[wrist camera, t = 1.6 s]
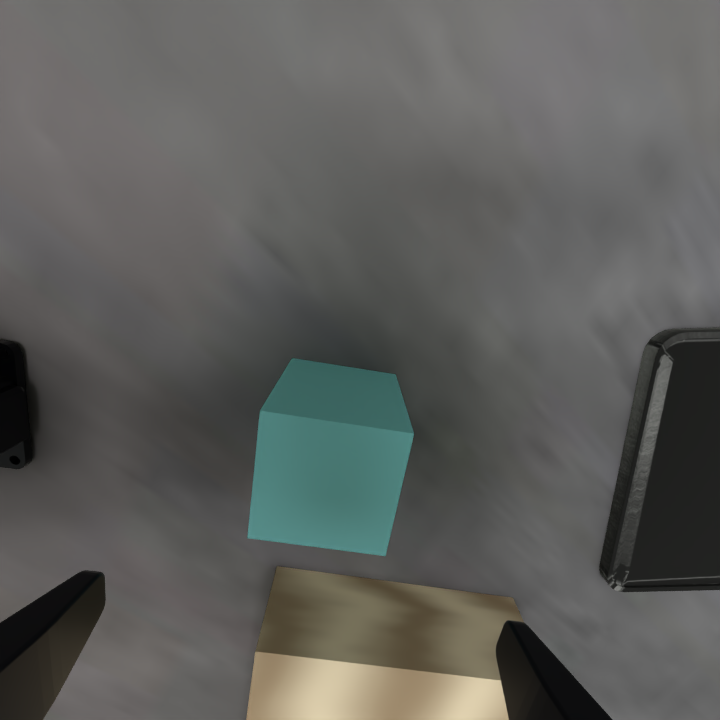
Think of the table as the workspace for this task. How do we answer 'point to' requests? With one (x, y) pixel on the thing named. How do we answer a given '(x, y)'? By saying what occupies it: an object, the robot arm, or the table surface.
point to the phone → (669, 471)
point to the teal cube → (330, 458)
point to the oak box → (377, 651)
